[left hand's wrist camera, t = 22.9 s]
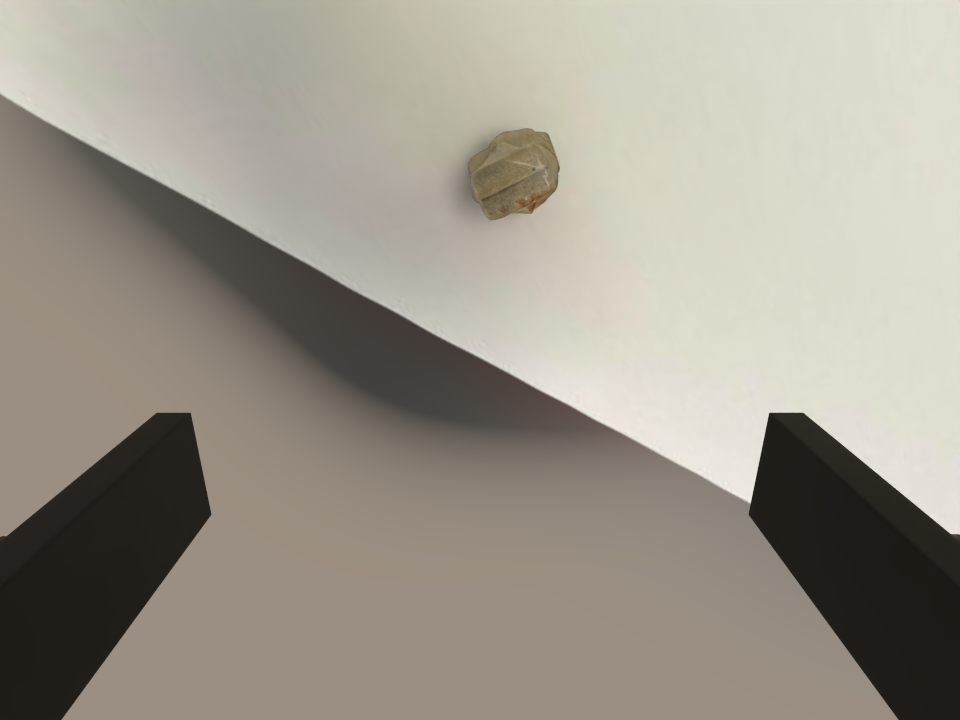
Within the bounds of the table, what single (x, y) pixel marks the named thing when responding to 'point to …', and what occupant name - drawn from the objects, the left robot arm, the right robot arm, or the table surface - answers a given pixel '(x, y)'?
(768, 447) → the left robot arm
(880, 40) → the table surface
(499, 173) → the sculpture
